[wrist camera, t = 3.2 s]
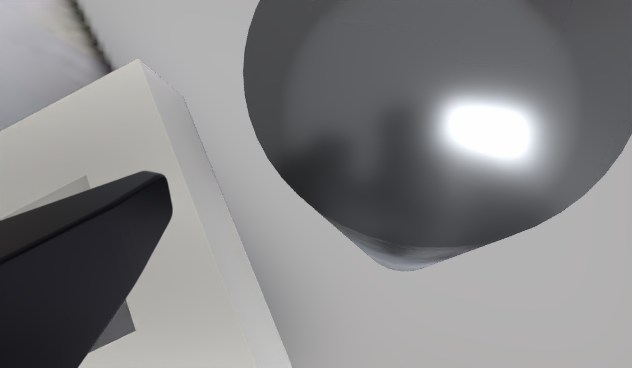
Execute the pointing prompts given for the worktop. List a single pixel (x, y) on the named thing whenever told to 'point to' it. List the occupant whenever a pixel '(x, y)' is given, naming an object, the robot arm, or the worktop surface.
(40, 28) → the worktop surface
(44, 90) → the worktop surface
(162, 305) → the hole block
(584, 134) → the long pin
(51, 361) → the robot arm
